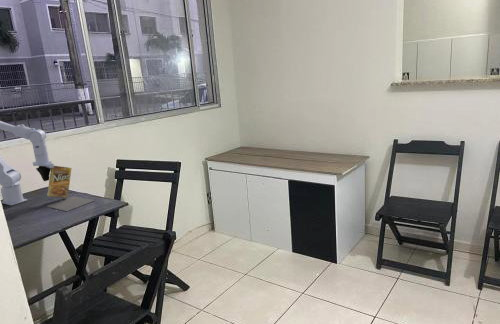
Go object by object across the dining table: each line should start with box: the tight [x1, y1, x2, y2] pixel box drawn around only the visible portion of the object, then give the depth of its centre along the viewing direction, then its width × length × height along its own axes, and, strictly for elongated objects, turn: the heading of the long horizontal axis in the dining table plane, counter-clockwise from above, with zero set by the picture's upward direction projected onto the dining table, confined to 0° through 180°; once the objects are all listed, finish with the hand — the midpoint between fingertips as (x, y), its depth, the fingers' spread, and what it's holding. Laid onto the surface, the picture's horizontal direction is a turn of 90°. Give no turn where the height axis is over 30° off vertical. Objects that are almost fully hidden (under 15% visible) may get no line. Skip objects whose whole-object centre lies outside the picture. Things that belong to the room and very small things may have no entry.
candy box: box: [46, 165, 72, 199], centre depth 184 cm, size 9×4×15 cm, turn 125°
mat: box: [46, 195, 96, 212], centre depth 177 cm, size 16×15×1 cm
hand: (46, 180), depth 184 cm, fingers closed
